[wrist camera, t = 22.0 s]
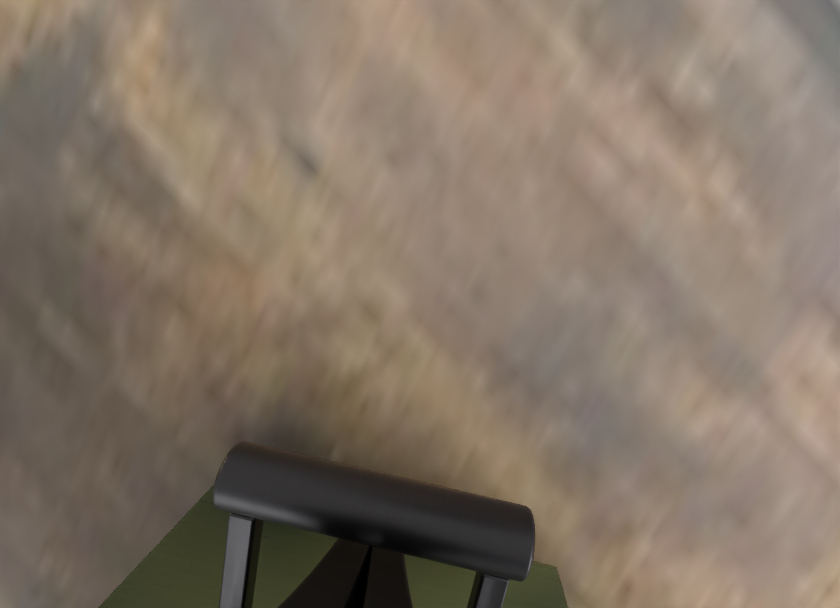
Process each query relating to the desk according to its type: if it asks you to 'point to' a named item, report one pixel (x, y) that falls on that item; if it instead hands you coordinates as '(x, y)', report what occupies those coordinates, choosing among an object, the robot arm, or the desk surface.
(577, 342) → the desk surface
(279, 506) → the drawer
